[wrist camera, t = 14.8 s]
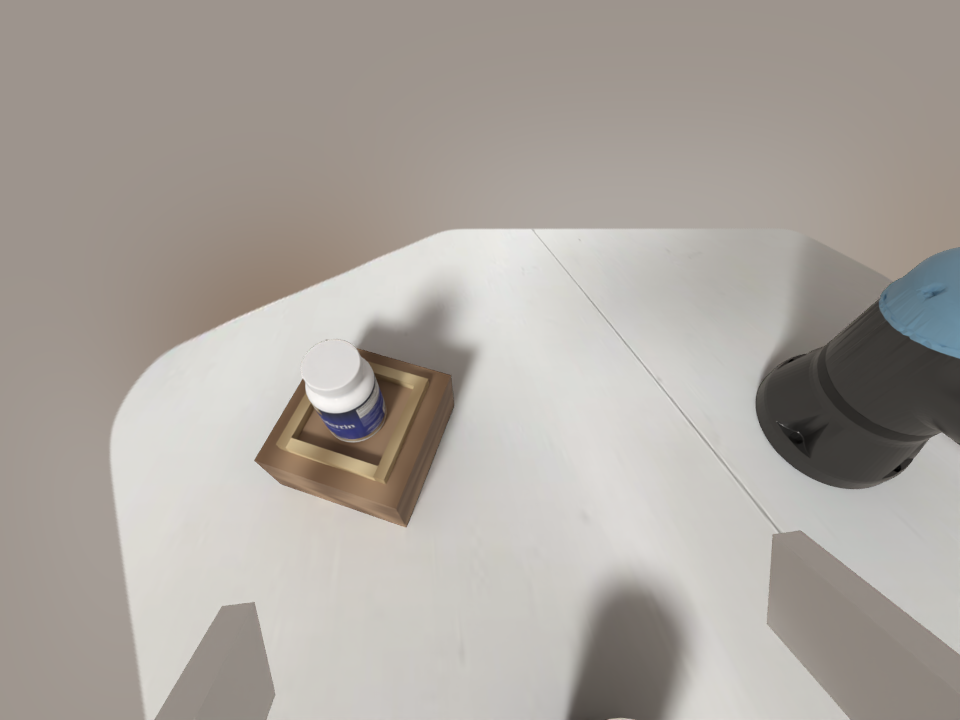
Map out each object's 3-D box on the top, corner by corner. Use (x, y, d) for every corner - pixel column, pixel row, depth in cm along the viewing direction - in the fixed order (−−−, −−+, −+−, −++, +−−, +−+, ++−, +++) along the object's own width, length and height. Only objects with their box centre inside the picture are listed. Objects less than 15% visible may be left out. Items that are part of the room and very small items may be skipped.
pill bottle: (315, 429, 46) (277, 377, 37) (349, 381, 48) (321, 323, 40) (367, 454, 44) (340, 406, 36) (398, 403, 47) (380, 348, 39)
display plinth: (454, 406, 55) (450, 369, 48) (406, 527, 48) (393, 505, 41) (342, 372, 57) (323, 332, 50) (280, 484, 50) (248, 455, 43)
